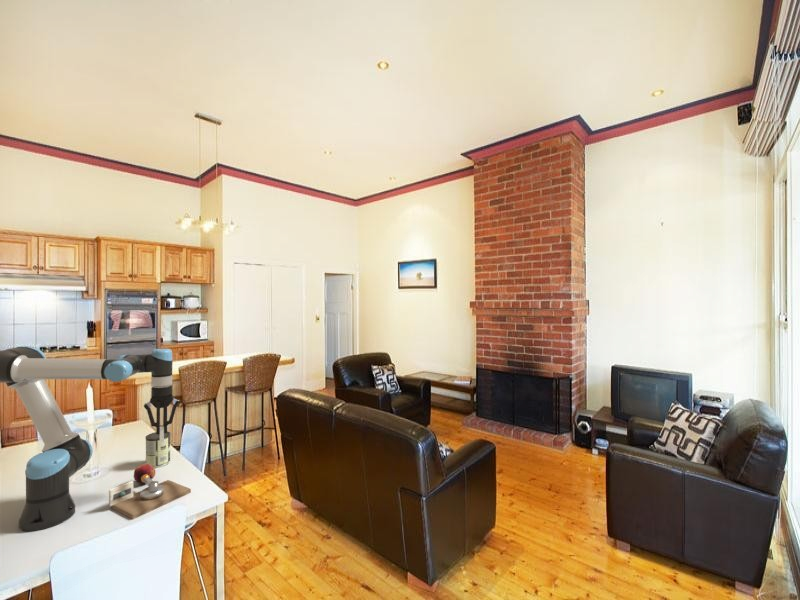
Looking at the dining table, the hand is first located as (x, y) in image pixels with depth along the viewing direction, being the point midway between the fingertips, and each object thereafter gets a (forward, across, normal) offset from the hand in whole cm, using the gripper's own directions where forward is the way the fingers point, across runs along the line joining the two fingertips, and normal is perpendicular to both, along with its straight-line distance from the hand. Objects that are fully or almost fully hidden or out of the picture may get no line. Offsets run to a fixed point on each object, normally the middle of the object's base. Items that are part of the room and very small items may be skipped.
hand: (161, 441), depth 161 cm
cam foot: (+19, +4, +4) cm, 19 cm away
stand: (+20, +3, +8) cm, 22 cm away
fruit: (+21, +6, -10) cm, 24 cm away
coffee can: (+21, +2, -30) cm, 37 cm away
